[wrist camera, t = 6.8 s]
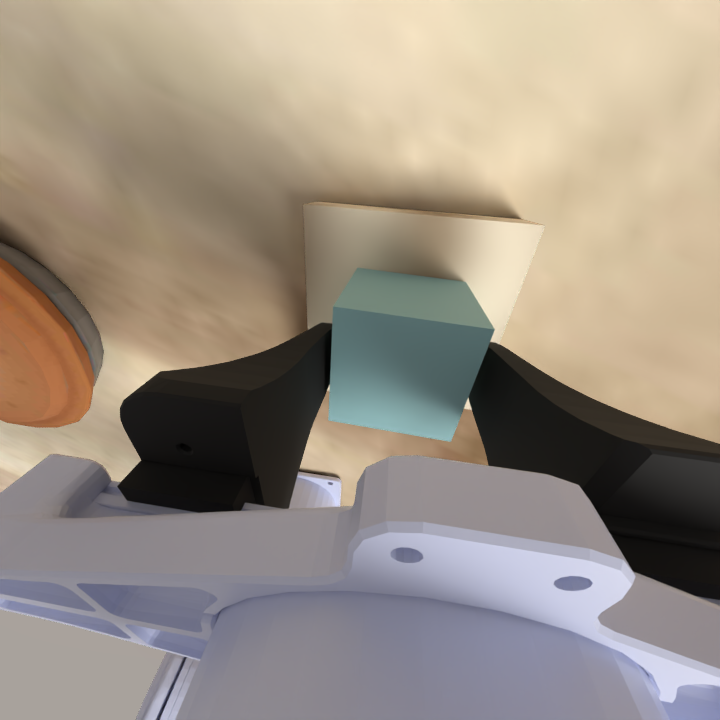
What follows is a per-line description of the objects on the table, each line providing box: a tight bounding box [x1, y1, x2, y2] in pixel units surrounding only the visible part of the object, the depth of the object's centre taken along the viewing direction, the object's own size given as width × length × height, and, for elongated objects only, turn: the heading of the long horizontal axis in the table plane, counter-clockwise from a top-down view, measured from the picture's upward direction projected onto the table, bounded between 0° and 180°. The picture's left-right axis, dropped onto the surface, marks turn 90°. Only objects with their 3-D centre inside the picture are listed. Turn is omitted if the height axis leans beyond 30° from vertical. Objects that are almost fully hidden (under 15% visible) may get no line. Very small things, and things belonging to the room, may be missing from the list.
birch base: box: [303, 202, 545, 410], centre depth 15 cm, size 10×10×2 cm
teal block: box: [329, 268, 495, 442], centre depth 12 cm, size 5×5×5 cm
